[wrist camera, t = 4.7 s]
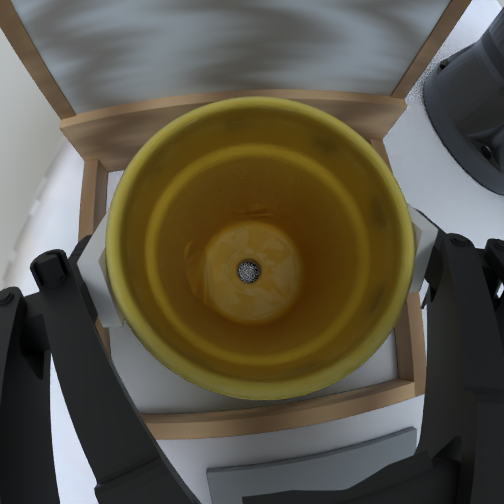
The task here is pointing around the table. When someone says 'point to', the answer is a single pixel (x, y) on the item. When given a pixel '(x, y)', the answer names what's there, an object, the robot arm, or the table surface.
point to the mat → (311, 469)
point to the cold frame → (221, 88)
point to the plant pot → (260, 248)
